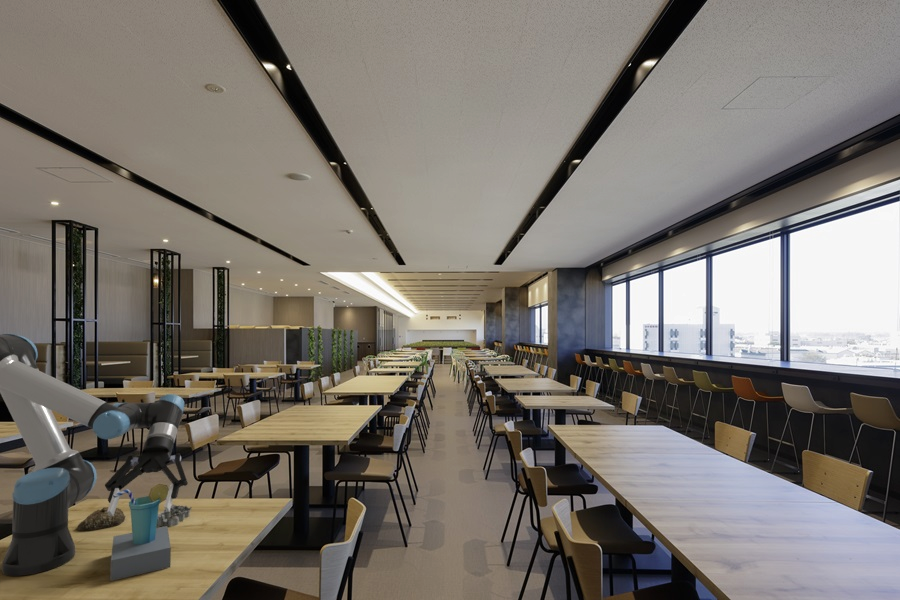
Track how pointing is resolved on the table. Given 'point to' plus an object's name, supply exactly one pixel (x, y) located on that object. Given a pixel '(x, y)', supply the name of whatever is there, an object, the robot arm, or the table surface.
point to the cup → (145, 513)
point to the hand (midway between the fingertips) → (138, 511)
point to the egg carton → (177, 513)
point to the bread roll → (101, 520)
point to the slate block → (139, 555)
